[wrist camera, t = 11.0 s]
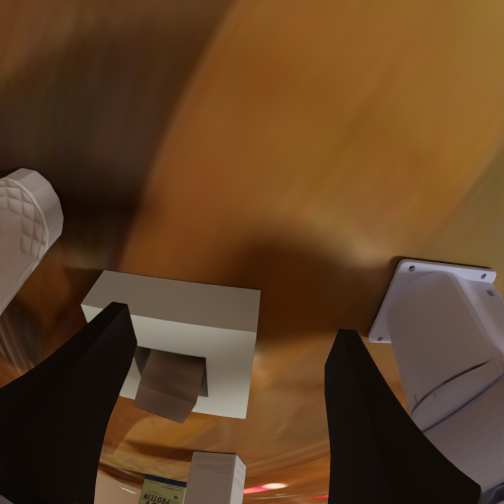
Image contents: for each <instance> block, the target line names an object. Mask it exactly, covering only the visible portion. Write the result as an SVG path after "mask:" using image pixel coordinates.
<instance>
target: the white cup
mask: <svg viewBox="0 0 504 504" xmlns="http://www.w3.org/2000/svg"><path fill="white" fill-rule="evenodd" d="M63 219H64V217H63V213H62V208H61V204H60V200H59V198H58V196H57V194H56V193H55V191H54V189H53V187H52V186H51V184H50V182H49V181H48V180H46V179H45V178H44V177H43V176H42V175H40V174H39V173H38V172H37V171H35V170H30V169H26V168H21V169H19V170H17V171H15V172H13V173H11V174H9V175H7V176H5V177H3V178H1V179H0V316H1V314H2V313H3V311H4V310H5V308H6V307H7V306H8V304H9V303H10V301H11V300H12V299H13V297H14V296H15V295H16V293H17V292H18V291H19V290H20V288H21V287H22V285H23V284H24V282H25V280H26V279H27V278H28V277H29V276H30V275H31V273H32V272H33V271H34V269H35V268H36V266H37V265H38V264H39V263H40V262H41V260H42V258H43V256H44V254H45V253H46V252H47V251H48V249H49V248H50V247H51V246H52V245H53V244H54V242H55V241H56V240H57V239H58V237H59V236H60V235H61V233H62V226H63Z"/></svg>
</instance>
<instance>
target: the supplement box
mask: <svg viewBox="0 0 504 504" xmlns="http://www.w3.org/2000/svg"><path fill="white" fill-rule="evenodd" d="M245 471H246V466H245V465H244V464H243V462H242V461H241V460H240V458H239V457H238V456H237V455H236V454H223V453H209V452H197V451H194V452H193V456H192V461H191V466H190V472H189V477H188V482H187V487H186V493H185V498H184V504H242V498H243V489H244V480H245Z"/></svg>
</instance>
